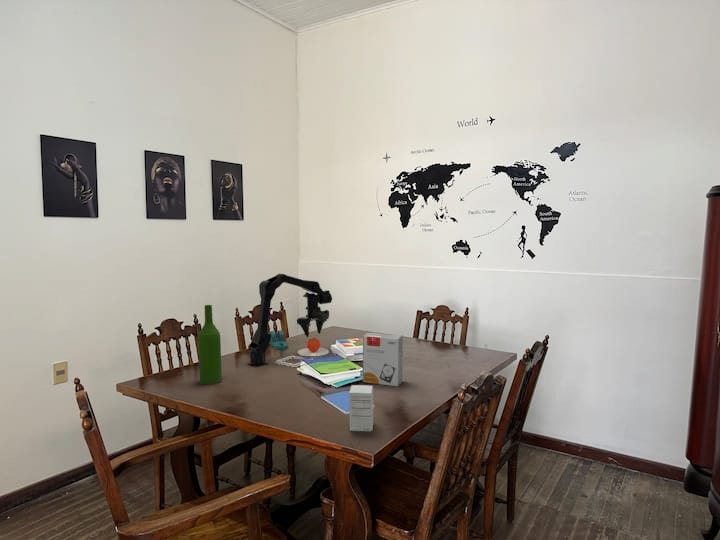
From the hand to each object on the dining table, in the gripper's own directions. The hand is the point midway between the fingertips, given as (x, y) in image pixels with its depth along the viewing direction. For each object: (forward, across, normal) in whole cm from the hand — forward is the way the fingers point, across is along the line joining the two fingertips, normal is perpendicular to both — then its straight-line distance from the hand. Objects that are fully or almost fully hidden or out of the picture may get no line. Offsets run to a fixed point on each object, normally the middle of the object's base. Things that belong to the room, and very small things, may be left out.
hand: (313, 335), depth 246 cm
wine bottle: (+10, -59, +6) cm, 60 cm away
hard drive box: (+10, -19, -55) cm, 59 cm away
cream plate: (+10, 0, 0) cm, 10 cm away
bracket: (+10, 0, +25) cm, 27 cm away
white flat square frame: (+9, -19, -4) cm, 22 cm away
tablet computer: (+10, -47, -57) cm, 74 cm away
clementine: (+9, -1, 0) cm, 9 cm away
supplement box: (+10, -61, -74) cm, 96 cm away
